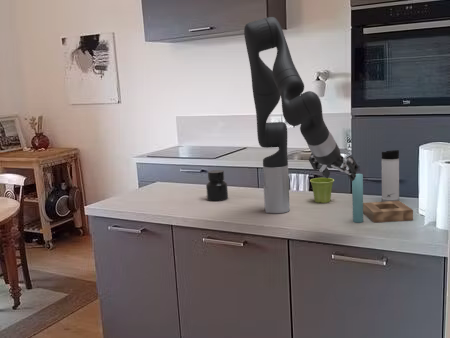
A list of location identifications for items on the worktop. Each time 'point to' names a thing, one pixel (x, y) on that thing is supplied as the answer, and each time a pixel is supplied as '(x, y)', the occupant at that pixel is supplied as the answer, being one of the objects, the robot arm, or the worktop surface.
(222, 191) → the ink bottle
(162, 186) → the worktop surface
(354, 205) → the dowel
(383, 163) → the travel mug
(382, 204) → the socket block
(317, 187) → the plant pot
